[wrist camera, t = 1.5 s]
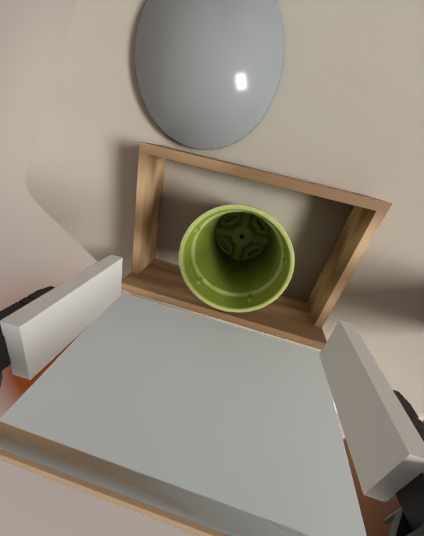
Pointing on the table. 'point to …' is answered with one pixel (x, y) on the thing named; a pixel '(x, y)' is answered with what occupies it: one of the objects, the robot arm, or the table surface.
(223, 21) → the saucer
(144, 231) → the frame
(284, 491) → the lid
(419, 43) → the table surface
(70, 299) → the robot arm
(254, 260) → the plant pot
